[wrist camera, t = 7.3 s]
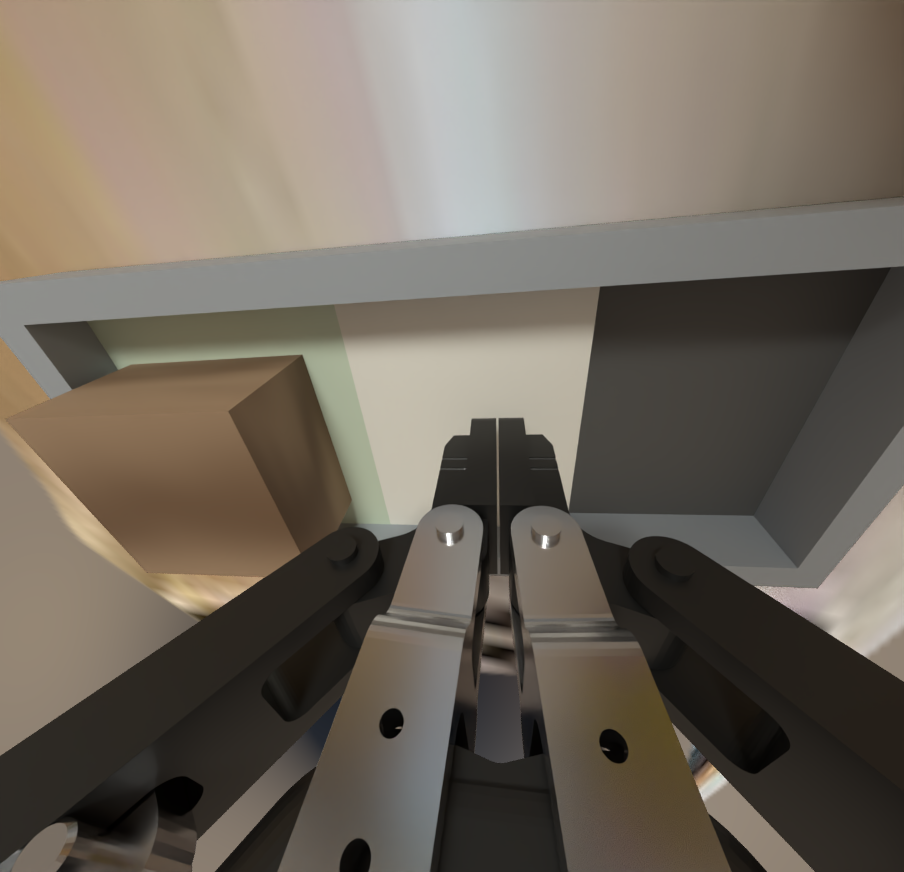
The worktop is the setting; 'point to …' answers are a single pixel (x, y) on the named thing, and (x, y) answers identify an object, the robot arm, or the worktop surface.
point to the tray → (561, 365)
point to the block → (198, 462)
